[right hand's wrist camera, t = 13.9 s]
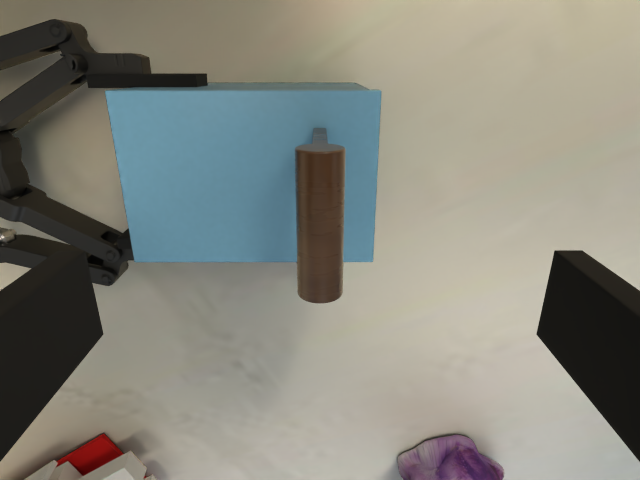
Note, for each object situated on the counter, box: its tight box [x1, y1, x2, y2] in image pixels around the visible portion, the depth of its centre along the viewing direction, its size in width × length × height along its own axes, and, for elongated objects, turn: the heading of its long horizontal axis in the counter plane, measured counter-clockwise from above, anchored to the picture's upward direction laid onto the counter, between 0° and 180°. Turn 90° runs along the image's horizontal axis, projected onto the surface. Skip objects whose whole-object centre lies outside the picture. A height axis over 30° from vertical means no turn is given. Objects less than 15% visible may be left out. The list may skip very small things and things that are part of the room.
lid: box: [105, 90, 381, 303], centre depth 21 cm, size 14×10×9 cm
